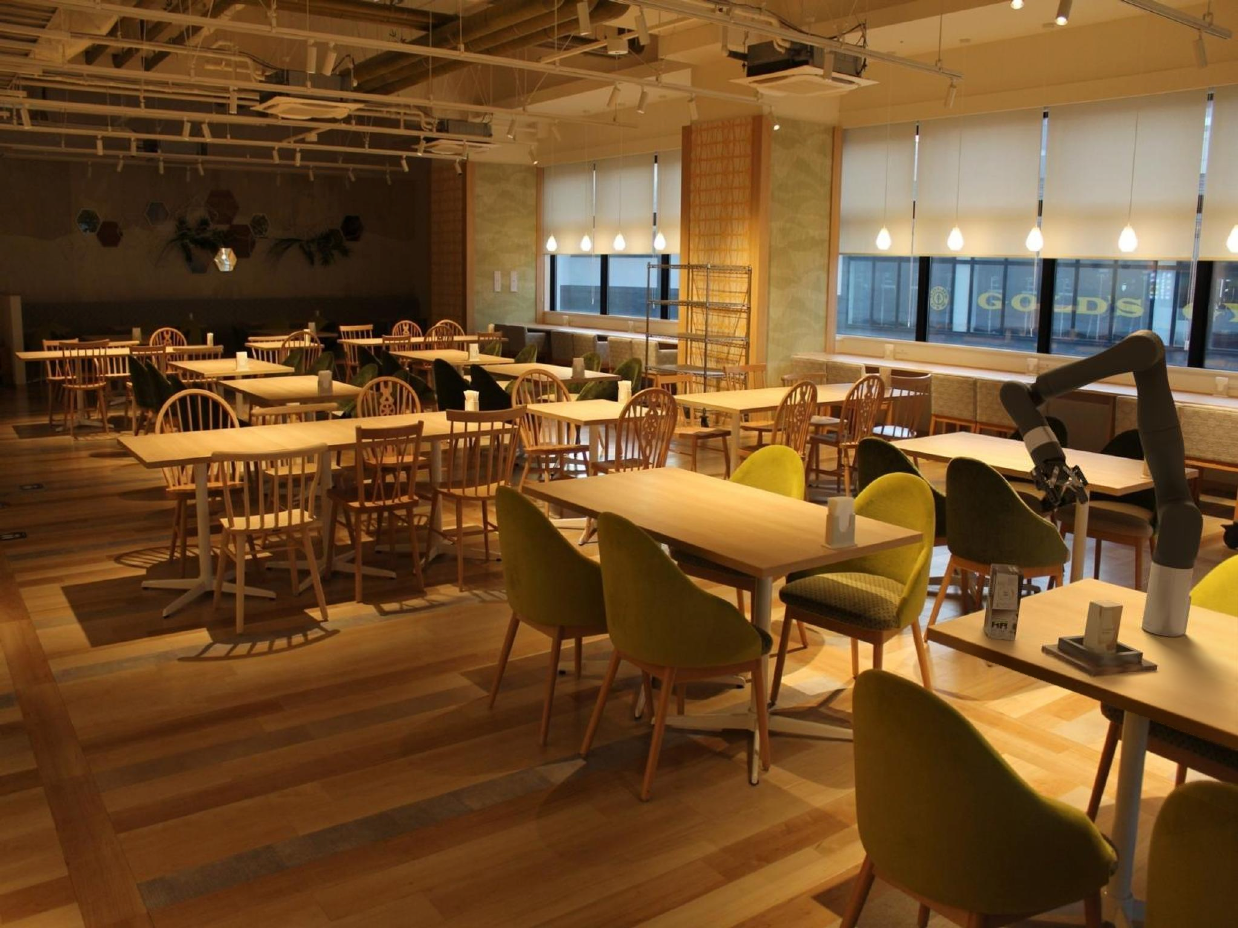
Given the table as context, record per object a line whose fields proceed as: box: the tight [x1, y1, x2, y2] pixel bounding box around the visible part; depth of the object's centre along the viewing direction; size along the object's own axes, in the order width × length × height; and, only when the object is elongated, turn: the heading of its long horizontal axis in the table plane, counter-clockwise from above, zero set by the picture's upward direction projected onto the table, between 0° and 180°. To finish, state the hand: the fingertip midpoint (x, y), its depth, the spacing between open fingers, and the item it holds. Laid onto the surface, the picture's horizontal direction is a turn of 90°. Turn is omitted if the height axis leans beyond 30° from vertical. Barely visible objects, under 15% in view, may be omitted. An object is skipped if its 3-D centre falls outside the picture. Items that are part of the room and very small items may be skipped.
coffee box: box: [983, 563, 1025, 642], centre depth 256 cm, size 9×6×16 cm
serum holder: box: [1041, 634, 1159, 678], centre depth 243 cm, size 18×16×4 cm
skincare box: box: [1083, 599, 1124, 654], centre depth 242 cm, size 6×4×12 cm
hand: (1071, 503), depth 262 cm, fingers open, 8 cm apart
